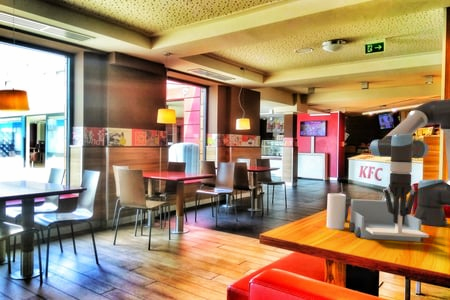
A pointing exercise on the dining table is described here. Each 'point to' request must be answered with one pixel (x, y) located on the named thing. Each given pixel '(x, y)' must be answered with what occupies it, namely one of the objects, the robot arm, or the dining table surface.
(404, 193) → the robot arm
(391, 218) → the truck bed
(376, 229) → the tailgate
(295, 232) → the dining table surface
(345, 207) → the beverage cup
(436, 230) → the dining table surface
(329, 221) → the cup
